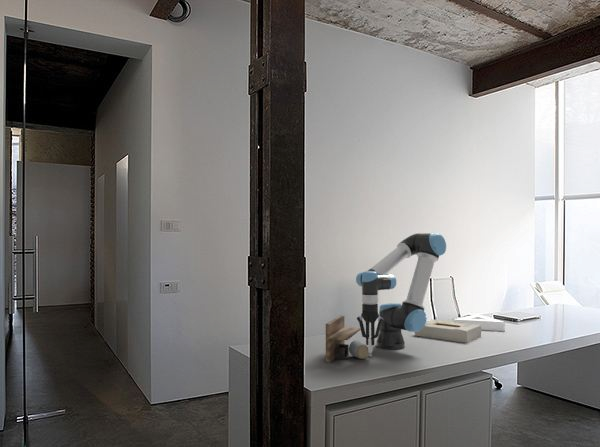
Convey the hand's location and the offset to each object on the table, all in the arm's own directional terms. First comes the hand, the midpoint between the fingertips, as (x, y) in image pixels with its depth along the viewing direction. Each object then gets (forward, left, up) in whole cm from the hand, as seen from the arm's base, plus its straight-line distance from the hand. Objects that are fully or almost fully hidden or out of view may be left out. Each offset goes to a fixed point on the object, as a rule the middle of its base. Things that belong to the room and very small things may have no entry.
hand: (370, 351), depth 234 cm
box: (-32, -69, -4) cm, 76 cm away
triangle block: (-48, -108, -4) cm, 119 cm away
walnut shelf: (+13, 0, -3) cm, 14 cm away
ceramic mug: (+5, -2, -4) cm, 6 cm away
